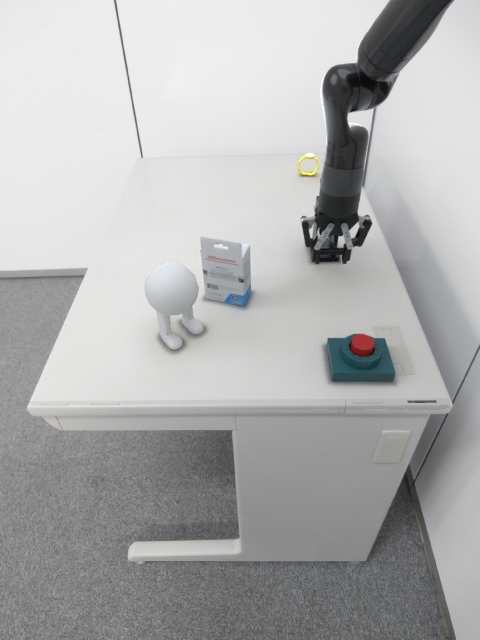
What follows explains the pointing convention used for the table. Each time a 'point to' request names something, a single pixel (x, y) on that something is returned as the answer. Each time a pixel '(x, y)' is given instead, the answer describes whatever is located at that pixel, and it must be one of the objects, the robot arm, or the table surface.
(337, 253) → the lever
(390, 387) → the table surface
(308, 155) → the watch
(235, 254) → the ink box
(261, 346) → the table surface
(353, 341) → the stop button
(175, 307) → the toy character
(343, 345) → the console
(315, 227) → the bracket
